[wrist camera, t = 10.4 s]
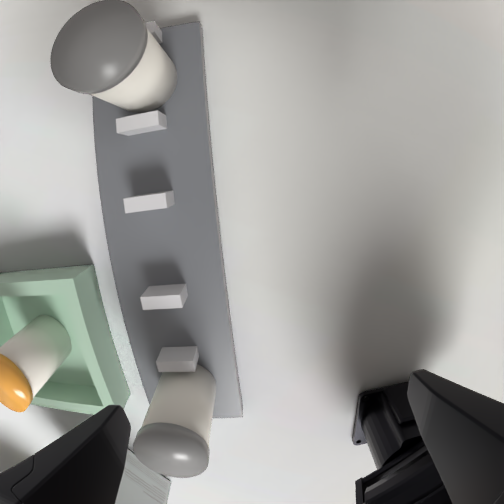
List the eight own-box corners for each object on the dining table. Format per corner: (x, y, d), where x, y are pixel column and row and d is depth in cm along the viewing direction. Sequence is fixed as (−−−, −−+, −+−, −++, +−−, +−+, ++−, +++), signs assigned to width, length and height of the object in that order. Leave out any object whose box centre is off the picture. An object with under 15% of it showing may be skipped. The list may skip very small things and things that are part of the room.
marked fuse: (79, 361, 21) (37, 416, 15) (41, 358, 22) (-3, 406, 15) (62, 313, 20) (9, 361, 14) (25, 313, 20) (-28, 355, 14)
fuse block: (242, 407, 23) (241, 490, 15) (157, 408, 23) (132, 484, 15) (202, 29, 16) (176, -42, 8) (100, 51, 16) (34, 7, 8)
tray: (130, 393, 23) (119, 417, 20) (32, 383, 23) (17, 401, 20) (93, 264, 20) (73, 278, 17) (-7, 273, 20) (-29, 285, 17)
